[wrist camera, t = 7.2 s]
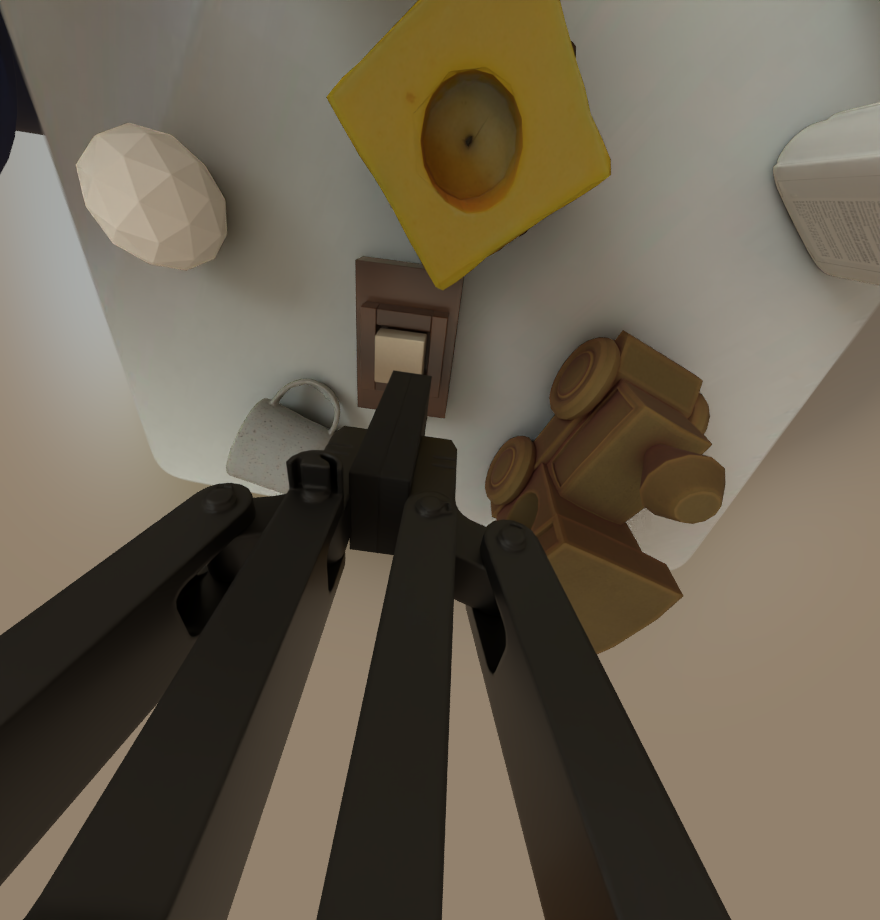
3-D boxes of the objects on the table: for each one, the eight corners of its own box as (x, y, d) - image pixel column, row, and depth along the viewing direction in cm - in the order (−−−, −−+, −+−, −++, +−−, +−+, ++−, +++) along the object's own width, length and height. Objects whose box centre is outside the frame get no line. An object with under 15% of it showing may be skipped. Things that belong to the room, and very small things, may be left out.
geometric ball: (241, 218, 30) (249, 287, 27) (130, 225, 29) (125, 300, 26) (197, 97, 24) (201, 171, 21) (48, 97, 22) (28, 178, 19)
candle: (507, -8, 21) (531, -142, 13) (574, 181, 26) (624, 171, 17) (367, 124, 25) (315, 85, 16) (447, 269, 29) (439, 295, 21)
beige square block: (380, 327, 28) (374, 335, 27) (427, 333, 28) (424, 341, 27) (379, 372, 31) (374, 382, 29) (423, 377, 31) (420, 388, 29)
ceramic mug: (329, 474, 41) (304, 522, 35) (255, 443, 40) (215, 488, 33) (363, 397, 36) (341, 437, 30) (280, 357, 34) (237, 390, 28)
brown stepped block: (362, 256, 29) (348, 262, 26) (464, 269, 29) (464, 278, 26) (363, 397, 36) (352, 416, 33) (446, 407, 36) (443, 428, 33)
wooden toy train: (555, 520, 43) (595, 667, 29) (469, 480, 41) (469, 621, 27) (699, 375, 32) (865, 501, 19) (594, 310, 30) (698, 399, 16)
